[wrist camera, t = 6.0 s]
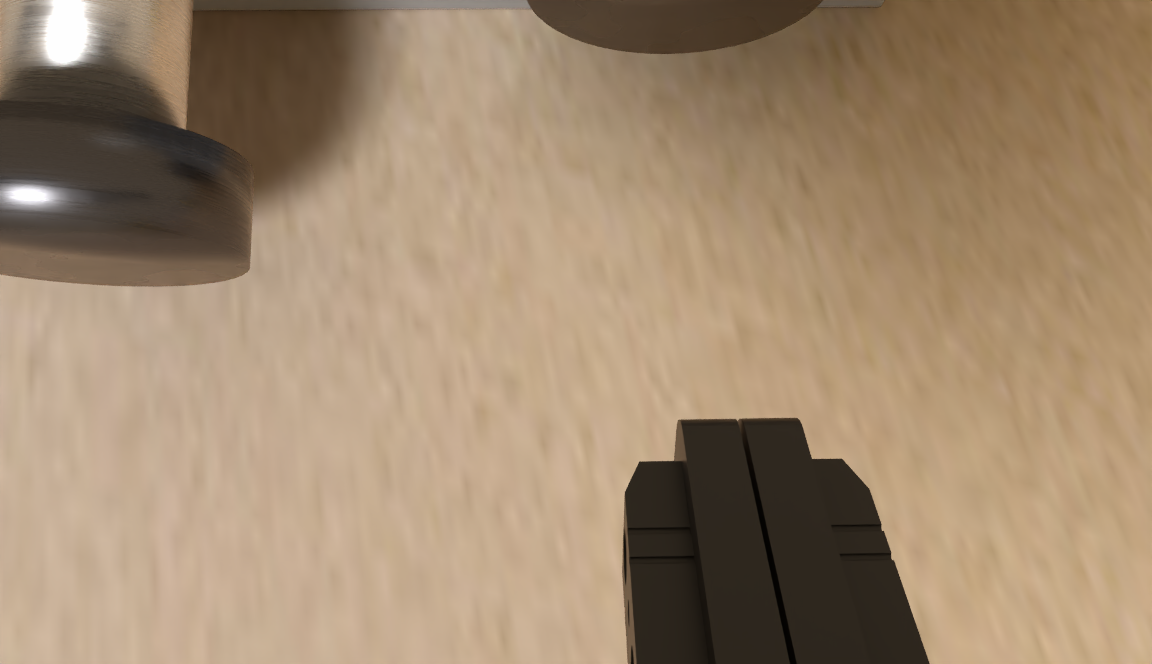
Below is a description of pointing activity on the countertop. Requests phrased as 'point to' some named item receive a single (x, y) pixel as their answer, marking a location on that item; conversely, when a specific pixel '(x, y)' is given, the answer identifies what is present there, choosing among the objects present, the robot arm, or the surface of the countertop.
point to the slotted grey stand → (416, 4)
